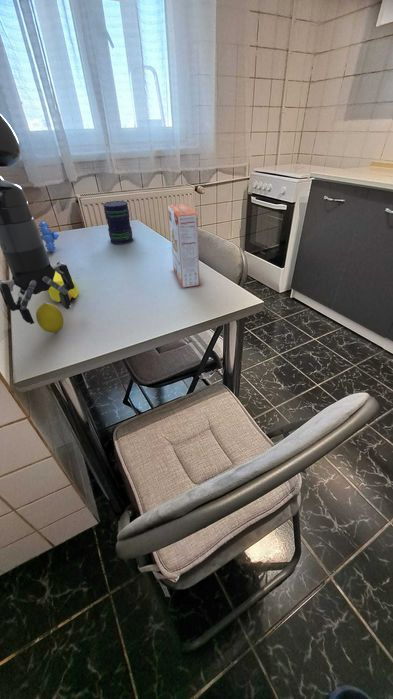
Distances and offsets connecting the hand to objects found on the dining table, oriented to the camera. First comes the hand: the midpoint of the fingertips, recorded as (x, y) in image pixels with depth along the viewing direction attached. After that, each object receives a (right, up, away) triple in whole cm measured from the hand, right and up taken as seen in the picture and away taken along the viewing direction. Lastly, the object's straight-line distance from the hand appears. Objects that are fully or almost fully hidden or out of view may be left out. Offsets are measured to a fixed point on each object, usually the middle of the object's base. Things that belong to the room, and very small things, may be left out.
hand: (49, 315), depth 68 cm
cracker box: (+30, +15, +27) cm, 43 cm away
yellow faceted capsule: (-6, +9, +21) cm, 24 cm away
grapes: (-24, +32, +52) cm, 65 cm away
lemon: (0, -4, +3) cm, 5 cm away
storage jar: (+1, +40, +61) cm, 73 cm away
